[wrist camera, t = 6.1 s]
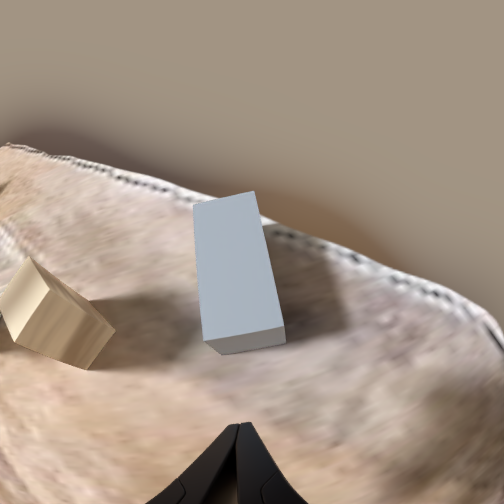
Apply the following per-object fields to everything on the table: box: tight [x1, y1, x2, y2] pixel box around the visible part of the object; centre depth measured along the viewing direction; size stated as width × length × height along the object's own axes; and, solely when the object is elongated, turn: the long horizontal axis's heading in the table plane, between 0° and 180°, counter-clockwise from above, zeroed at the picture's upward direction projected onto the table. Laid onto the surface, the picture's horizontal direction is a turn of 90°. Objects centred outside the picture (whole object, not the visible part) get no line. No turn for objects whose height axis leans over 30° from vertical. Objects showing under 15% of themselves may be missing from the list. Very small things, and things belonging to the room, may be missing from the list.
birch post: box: [0, 256, 116, 370], centre depth 20 cm, size 5×5×9 cm
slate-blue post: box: [193, 191, 286, 355], centre depth 22 cm, size 5×5×11 cm
